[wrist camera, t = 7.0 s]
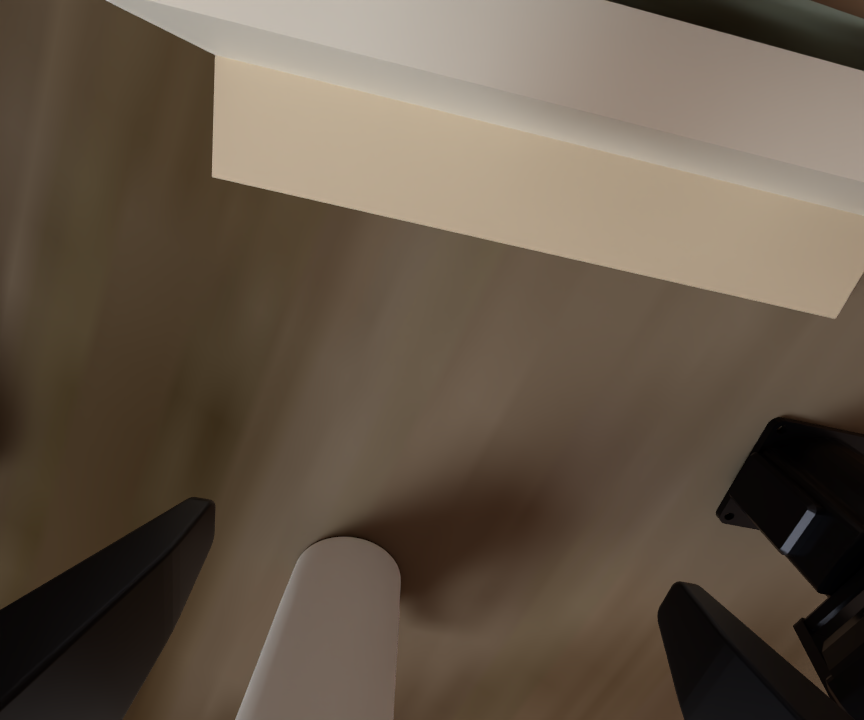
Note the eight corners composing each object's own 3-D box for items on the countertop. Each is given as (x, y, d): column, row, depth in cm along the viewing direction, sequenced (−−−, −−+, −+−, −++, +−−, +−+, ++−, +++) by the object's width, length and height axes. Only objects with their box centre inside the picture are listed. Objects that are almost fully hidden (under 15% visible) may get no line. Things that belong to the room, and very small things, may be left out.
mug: (268, 551, 26) (145, 835, 15) (375, 516, 25) (327, 794, 14) (348, 659, 30) (295, 952, 19) (443, 633, 29) (448, 927, 18)
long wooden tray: (900, 168, 18) (1224, 170, 10) (817, 311, 20) (1036, 396, 13) (229, -5, 16) (50, -152, 9) (223, 176, 18) (78, 183, 11)
